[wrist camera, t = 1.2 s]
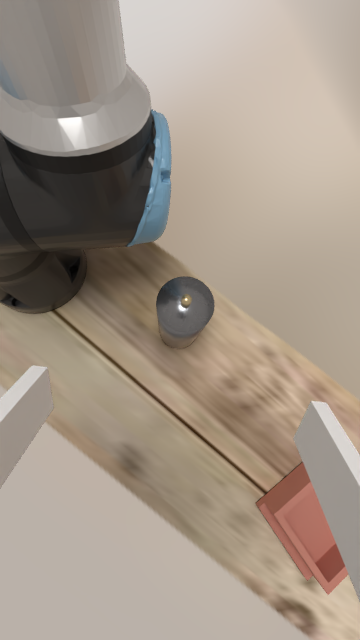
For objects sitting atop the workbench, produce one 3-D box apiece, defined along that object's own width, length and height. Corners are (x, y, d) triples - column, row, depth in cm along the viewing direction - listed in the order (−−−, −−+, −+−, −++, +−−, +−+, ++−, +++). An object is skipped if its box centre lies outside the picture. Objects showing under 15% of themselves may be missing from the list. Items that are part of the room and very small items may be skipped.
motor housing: (152, 324, 39) (143, 290, 24) (183, 304, 40) (194, 259, 25) (173, 356, 38) (178, 341, 23) (204, 334, 39) (229, 307, 24)
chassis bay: (255, 503, 34) (267, 520, 30) (318, 448, 36) (338, 457, 32) (302, 573, 33) (321, 601, 29) (365, 511, 35) (392, 529, 31)
